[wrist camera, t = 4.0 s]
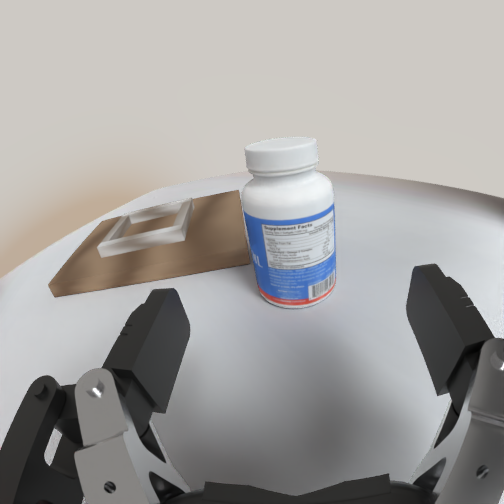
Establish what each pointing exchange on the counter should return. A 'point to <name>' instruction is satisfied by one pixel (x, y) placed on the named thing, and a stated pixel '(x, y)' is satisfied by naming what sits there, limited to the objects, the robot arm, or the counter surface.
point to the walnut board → (158, 245)
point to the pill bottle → (290, 222)
